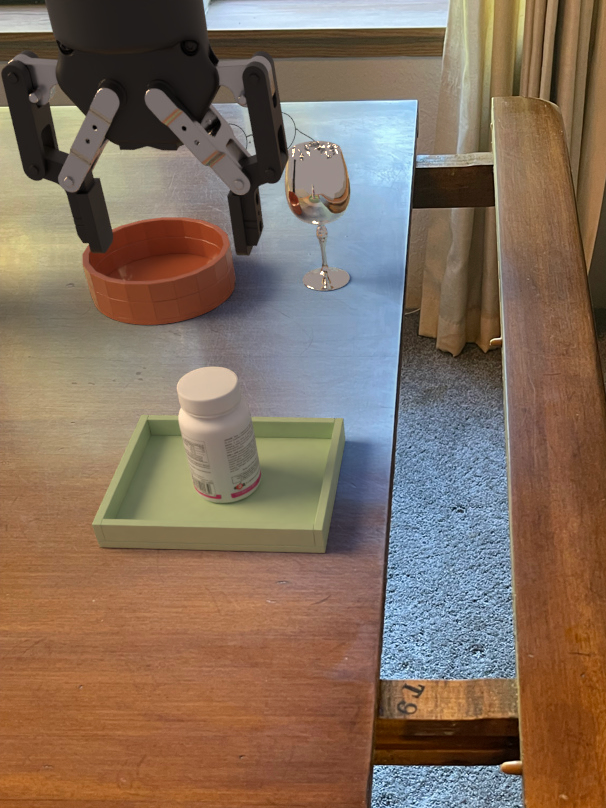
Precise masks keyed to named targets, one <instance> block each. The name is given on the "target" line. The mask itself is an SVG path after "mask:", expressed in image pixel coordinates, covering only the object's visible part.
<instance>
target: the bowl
mask: <svg viewBox="0 0 606 808" xmlns="http://www.w3.org/2000/svg"><path fill="white" fill-rule="evenodd" d="M112 231H113V242H112V244H111V245H110V247H109V248H108V250H107V252H106V253H92V252H91V250H90V247H89V244H87V246H86V247H85V249H84V251H83V252H82V254H81V257H82V259H81V263H82V264H81V265H82V268H83V272H84V274H85V278H86V279H85V280H86V282H87V286H88V289H89V294H90V297H91V300H92V301H93V304H94V306H95V308H96V309H97V310H98V311H99V312H100V313H101V314H102V315H104V316H106V317H107V318H110V319H112V320H114V321H117V322H119V323H120V322H121V323H125V324H131V325H138V326H139V325H141V326H153V325H154V326H158V325H168V324H173V323H178V322H183V321H187V320H191V319H194V318H197V317H199V316H203V315H204V314H207V313H209V312H211V311H213V310H214V309H216V308H218V307H220V306H221V305H222V304H224V303H225V302H226V301H227V300H228V299H229V298H230V296H231V295H232V294H233V292H234V290H235V287H236V279H237V278H236V271H235V265H234V261H233V253H232V248H231V247H232V246H231V242H230V238H229V235H228V233H227V232H226V231H224V230H223V229H222V228H221V227H220V226H218V225H217V224H214V223H212V222H209V221H206V220H204V219H198V218H192V217H187V216H186V217H185V216H184V217H183V216H182V217H180V216H178V217H177V216H173V217H172V216H171V217H169V216H166V217H165V216H163V217H154V218H146V219H141V220H137V221H134V222H130V223H126V224H122V225H119V226H117V227H114V228H112Z"/></svg>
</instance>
